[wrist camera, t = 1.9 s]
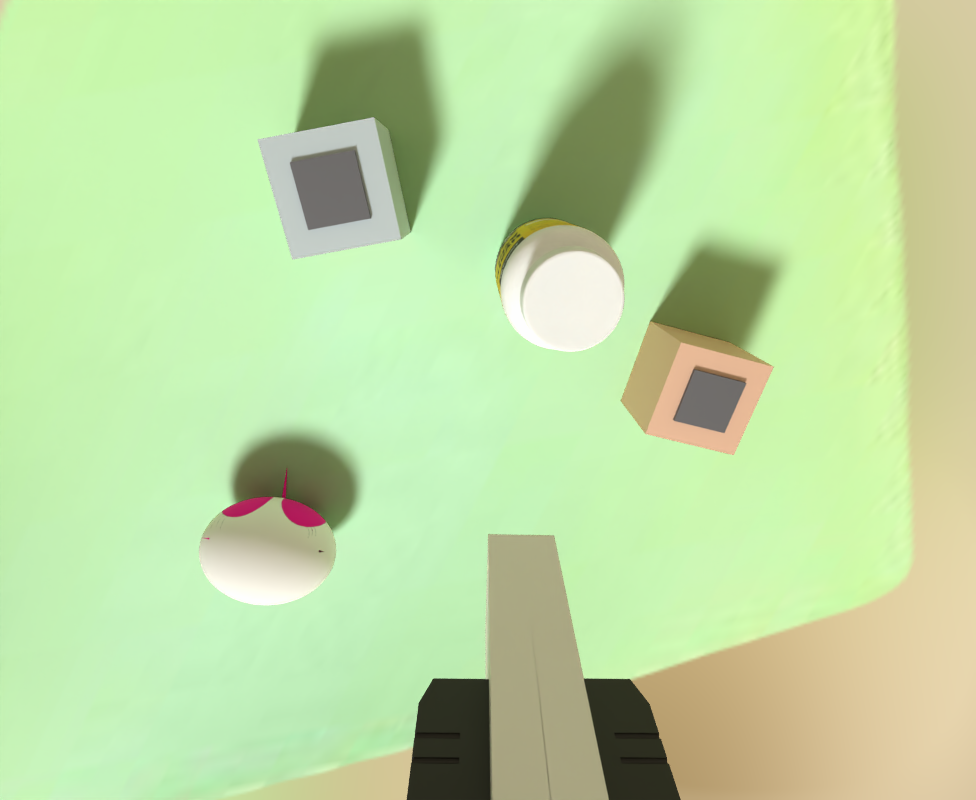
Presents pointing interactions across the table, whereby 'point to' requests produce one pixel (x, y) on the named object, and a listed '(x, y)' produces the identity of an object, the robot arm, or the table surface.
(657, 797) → the robot arm
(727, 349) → the terracotta block
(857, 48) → the table surface
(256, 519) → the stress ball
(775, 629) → the table surface
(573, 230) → the supplement bottle
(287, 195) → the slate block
